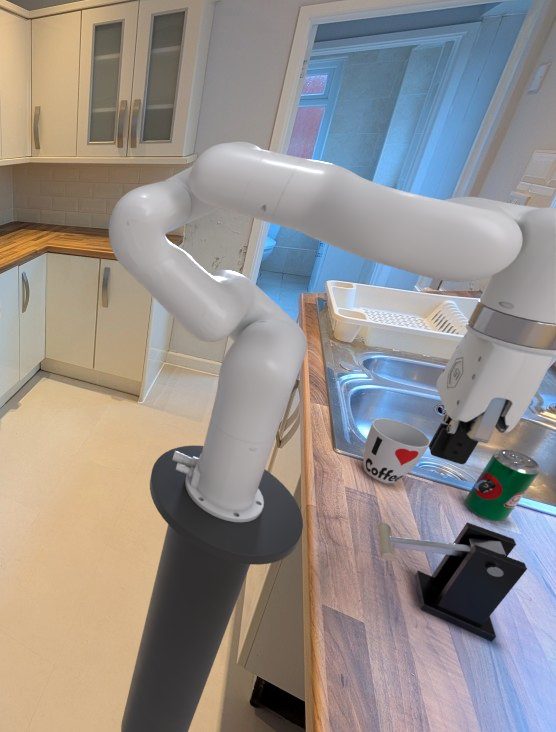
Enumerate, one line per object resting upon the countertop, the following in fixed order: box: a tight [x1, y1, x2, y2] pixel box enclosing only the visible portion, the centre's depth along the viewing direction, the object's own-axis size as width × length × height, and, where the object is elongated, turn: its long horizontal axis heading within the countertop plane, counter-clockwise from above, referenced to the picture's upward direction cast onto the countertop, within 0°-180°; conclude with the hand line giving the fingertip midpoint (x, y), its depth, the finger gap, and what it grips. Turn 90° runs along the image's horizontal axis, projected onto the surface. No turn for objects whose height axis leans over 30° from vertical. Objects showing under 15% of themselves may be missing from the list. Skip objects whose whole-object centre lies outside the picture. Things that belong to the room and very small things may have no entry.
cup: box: [362, 417, 431, 484], centre depth 79 cm, size 8×8×10 cm
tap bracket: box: [414, 522, 528, 643], centre depth 56 cm, size 7×6×13 cm
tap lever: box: [377, 522, 506, 562], centre depth 58 cm, size 12×6×2 cm, turn 54°
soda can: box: [464, 448, 540, 522], centre depth 71 cm, size 5×5×12 cm
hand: (445, 455), depth 54 cm, fingers closed
